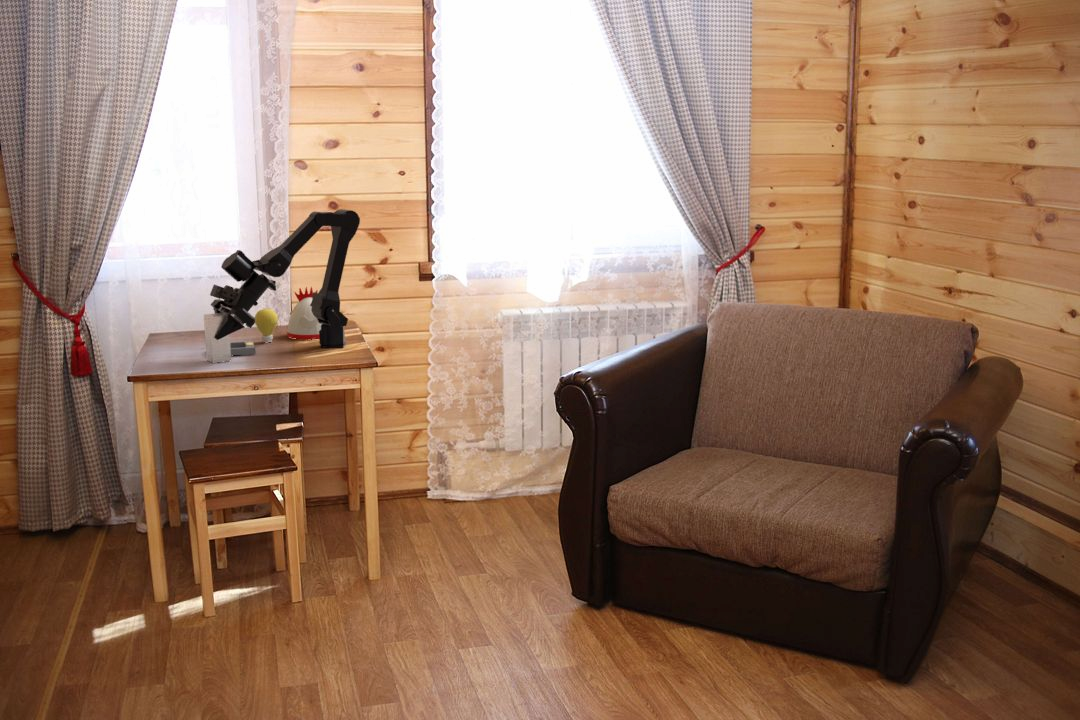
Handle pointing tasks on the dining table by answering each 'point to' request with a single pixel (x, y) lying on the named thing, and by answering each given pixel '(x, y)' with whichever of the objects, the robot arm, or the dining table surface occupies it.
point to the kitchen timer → (303, 318)
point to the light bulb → (266, 323)
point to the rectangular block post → (214, 347)
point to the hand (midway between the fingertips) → (212, 337)
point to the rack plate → (242, 348)
